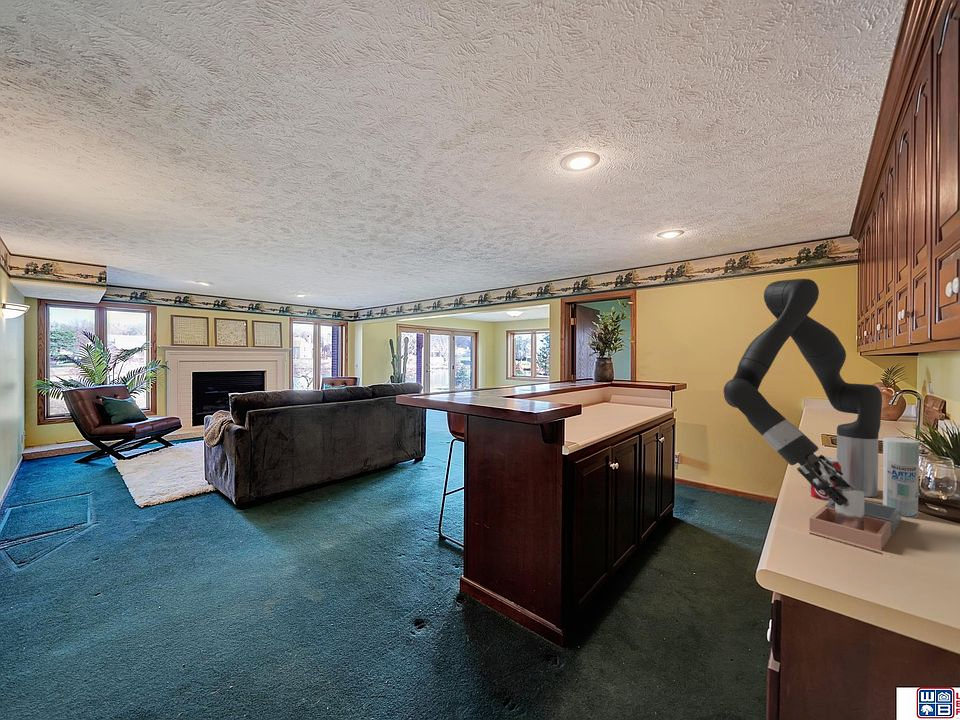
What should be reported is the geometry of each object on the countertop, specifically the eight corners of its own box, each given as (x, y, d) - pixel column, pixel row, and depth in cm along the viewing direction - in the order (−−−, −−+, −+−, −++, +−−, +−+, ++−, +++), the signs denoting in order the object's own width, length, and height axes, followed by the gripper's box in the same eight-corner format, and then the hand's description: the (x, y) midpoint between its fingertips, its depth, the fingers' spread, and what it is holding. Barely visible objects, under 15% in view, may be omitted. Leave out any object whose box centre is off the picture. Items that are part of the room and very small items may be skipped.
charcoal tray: (837, 508, 108) (837, 495, 108) (901, 523, 99) (901, 508, 99) (825, 519, 101) (825, 505, 101) (892, 537, 92) (892, 520, 92)
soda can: (847, 505, 111) (847, 462, 111) (818, 503, 113) (819, 461, 112) (830, 496, 118) (831, 456, 118) (803, 494, 119) (804, 455, 119)
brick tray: (824, 520, 101) (824, 506, 101) (891, 538, 91) (891, 522, 91) (809, 533, 94) (809, 517, 94) (880, 554, 84) (881, 536, 84)
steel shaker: (838, 525, 96) (838, 484, 96) (866, 533, 92) (866, 490, 92) (832, 531, 93) (832, 489, 93) (861, 539, 89) (861, 495, 89)
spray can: (913, 514, 105) (913, 438, 104) (922, 522, 99) (923, 443, 99) (879, 509, 108) (879, 436, 108) (886, 517, 103) (887, 440, 103)
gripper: (792, 437, 95) (857, 498, 86) (810, 430, 104) (871, 485, 95) (766, 454, 99) (825, 514, 90) (786, 446, 108) (841, 500, 99)
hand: (849, 499), depth 92 cm, fingers open, 8 cm apart
